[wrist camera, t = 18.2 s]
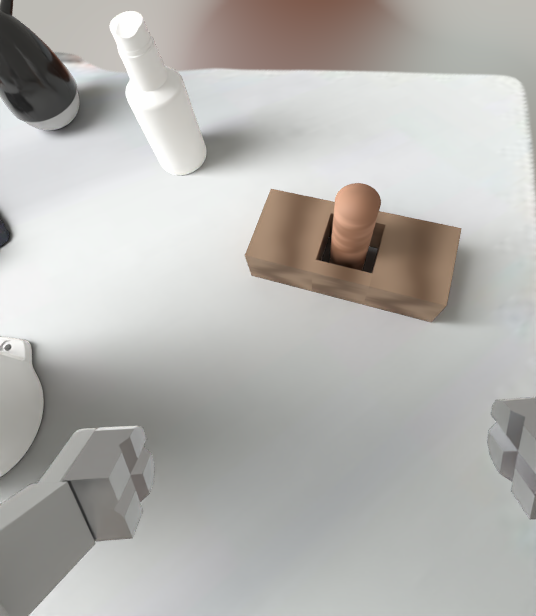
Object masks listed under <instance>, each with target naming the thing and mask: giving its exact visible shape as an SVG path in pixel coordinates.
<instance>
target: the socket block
mask: <svg viewBox="0 0 536 616" xmlns="http://www.w3.org/2000/svg"><path fill="white" fill-rule="evenodd" d="M334 206H335V202H332V201H327V200H323V199H318V198H313V197H308V196H303V195H298V194H294V193H289V192H284V191H279V190H274V189H271V190H270V193H269V195H268V198H267V200H266V203H265V205H264V208H263V210H262V213H261V216H260V218H259V221H258V223H257V226H256V228H255V231H254V233H253V236H252V239H251V241H250V244H249V246H248V249H247V251H246V254H245V257H246V260H247V263H248V266H249V269H250V272H251V275H252V276H256V277H260V278H263V279H267V280H271V281H275V282H279V283H283V284H286V285H290V286H294V287H298V288H302V289H306V290H309V291H313V292H317V293H321V294H325V295H329V296H332V297H336V298H340V299H344V300H348V301H352V302H355V303H359V304H363V305H367V306H371V307H375V308H378V309H382V310H386V311H390V312H394V313H398V314H401V315H405V316H409V317H413V318H417V319H421V320H425V321H428V322H432V321H433V320H434V319H435V318H436V317H437V316H438V315H439V314H440V312H441V311H442V310H443V309H444V308H445V307H446V306H447V301H448V296H449V291H450V286H451V280H452V275H453V270H454V265H455V259H456V254H457V249H458V244H459V239H460V233H461V228H457V227H453V226H448V225H443V224H438V223H433V222H429V221H424V220H419V219H414V218H409V217H404V216H400V215H395V214H390V213H385V212H380V211H379V212H378V216H377V220H376V223H375V227H374V230H373V234H372V238H371V241H370V245H369V246H371V247H375V248H378V250H377V254H376V258H375V262H374V265H373V269H372V273H368V272H364V271H360V270H356V269H352V268H348V267H344V266H340V265H335V264H331V263H327V262H323V261H322V257H323V254H324V251H325V248H326V245H327V242H328V238H329V237H331V238H332V228H333V217H334Z"/></svg>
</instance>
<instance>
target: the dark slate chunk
mask: <svg viewBox="0 0 536 616" xmlns="http://www.w3.org/2000/svg"><path fill="white" fill-rule="evenodd" d="M8 239H9V232H8V230H7V229H6V228H5V226H4V223H3V221H2V220H1V219H0V246H1V245H3V244H4V243H5V242H7V241H8Z"/></svg>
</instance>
